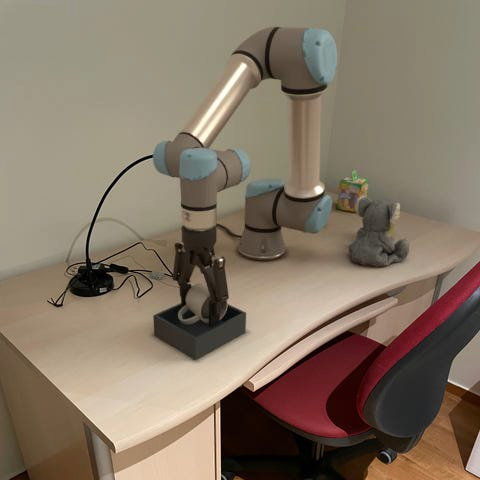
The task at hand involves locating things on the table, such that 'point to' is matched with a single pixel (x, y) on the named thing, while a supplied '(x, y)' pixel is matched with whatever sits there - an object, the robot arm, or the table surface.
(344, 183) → the chalk box
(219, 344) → the bin
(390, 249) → the koala plush
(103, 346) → the table surface
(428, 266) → the table surface
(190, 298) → the ceramic mug
